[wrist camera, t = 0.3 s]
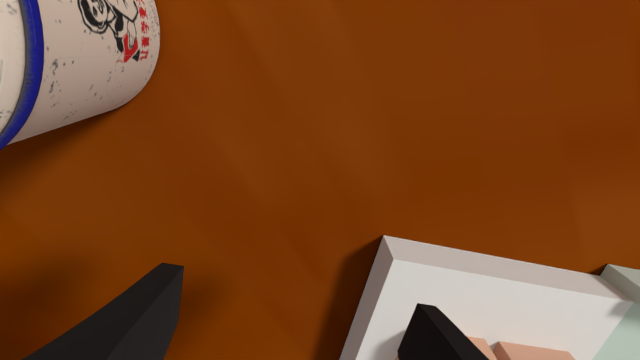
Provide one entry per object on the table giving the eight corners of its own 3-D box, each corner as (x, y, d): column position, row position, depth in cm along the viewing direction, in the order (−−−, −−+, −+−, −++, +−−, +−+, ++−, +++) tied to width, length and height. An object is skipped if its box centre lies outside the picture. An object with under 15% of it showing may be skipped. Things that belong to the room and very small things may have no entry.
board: (510, 412, 28) (529, 446, 25) (328, 390, 25) (330, 425, 23) (599, 275, 23) (633, 302, 20) (383, 235, 21) (393, 259, 18)
